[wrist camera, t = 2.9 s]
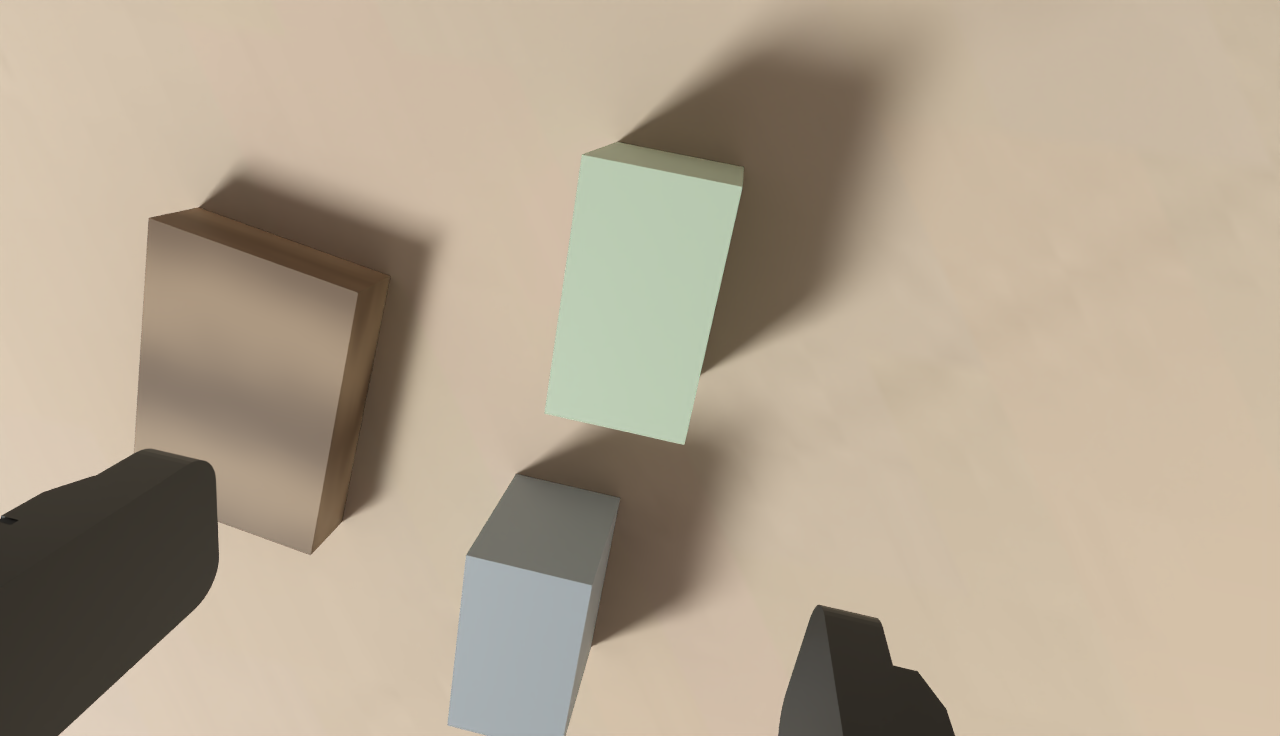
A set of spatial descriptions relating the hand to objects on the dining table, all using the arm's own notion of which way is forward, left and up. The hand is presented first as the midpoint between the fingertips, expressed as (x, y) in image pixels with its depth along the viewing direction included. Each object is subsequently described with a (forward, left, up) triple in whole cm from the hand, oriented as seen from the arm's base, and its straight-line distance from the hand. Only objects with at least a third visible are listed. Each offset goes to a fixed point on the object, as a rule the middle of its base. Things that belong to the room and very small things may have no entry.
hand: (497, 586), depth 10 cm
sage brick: (0, 0, -19) cm, 19 cm away
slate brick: (+14, -2, -19) cm, 24 cm away
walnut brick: (+8, -15, -19) cm, 26 cm away
